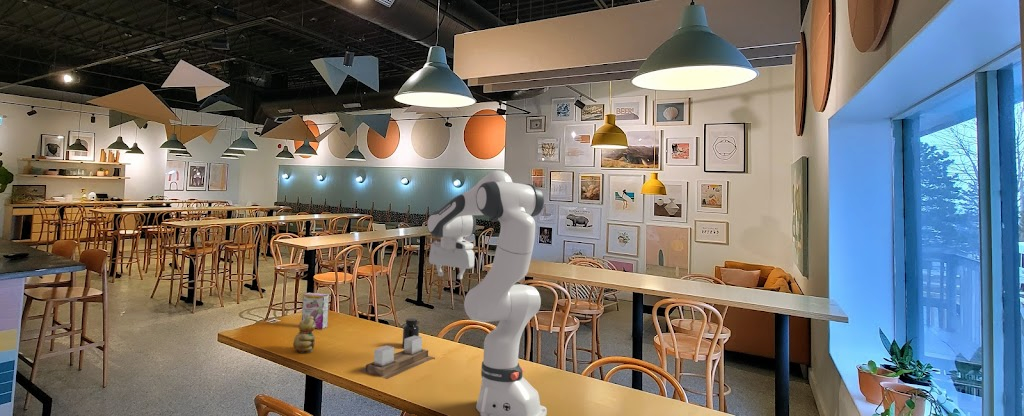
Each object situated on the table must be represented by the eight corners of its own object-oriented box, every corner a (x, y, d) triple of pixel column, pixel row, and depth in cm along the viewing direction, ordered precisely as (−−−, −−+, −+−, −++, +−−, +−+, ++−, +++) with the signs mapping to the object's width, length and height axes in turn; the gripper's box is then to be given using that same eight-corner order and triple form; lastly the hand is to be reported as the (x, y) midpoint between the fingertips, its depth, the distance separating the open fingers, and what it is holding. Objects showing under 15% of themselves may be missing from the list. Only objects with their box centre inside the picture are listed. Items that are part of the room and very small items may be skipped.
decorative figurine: (315, 353, 186) (316, 317, 186) (292, 355, 183) (294, 318, 183) (314, 346, 195) (315, 311, 195) (292, 348, 192) (294, 312, 191)
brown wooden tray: (434, 361, 184) (435, 351, 184) (387, 383, 160) (387, 371, 160) (407, 354, 191) (408, 344, 190) (358, 374, 167) (358, 363, 167)
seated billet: (393, 368, 170) (394, 347, 170) (381, 373, 165) (382, 351, 165) (385, 366, 172) (386, 345, 172) (373, 371, 167) (374, 349, 166)
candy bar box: (300, 328, 221) (302, 294, 221) (306, 325, 226) (308, 292, 226) (322, 329, 220) (323, 295, 219) (328, 327, 225) (329, 293, 224)
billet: (421, 356, 184) (422, 337, 184) (411, 361, 179) (412, 340, 179) (413, 354, 186) (414, 335, 186) (403, 359, 181) (404, 338, 181)
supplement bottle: (414, 349, 197) (415, 322, 197) (399, 348, 198) (400, 320, 198) (420, 345, 204) (421, 318, 203) (406, 343, 205) (407, 316, 205)
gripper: (426, 241, 186) (424, 275, 186) (468, 245, 176) (466, 281, 176) (435, 240, 191) (434, 273, 192) (477, 244, 182) (475, 279, 182)
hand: (450, 277), depth 184 cm, fingers open, 8 cm apart
